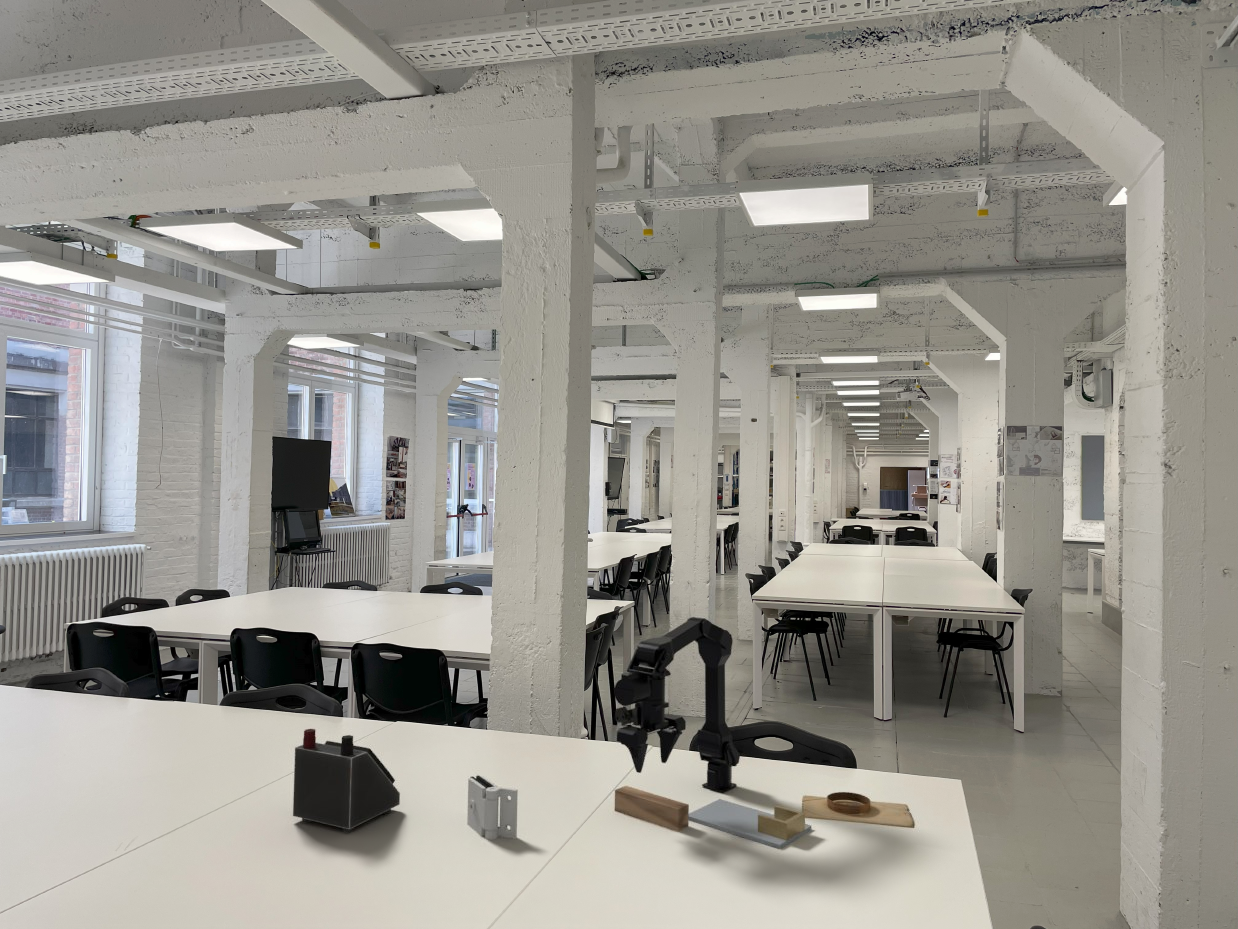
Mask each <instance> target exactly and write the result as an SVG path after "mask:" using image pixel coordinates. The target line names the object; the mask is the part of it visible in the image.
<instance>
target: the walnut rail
mask: <svg viewBox="0 0 1238 929" xmlns="http://www.w3.org/2000/svg"><path fill="white" fill-rule="evenodd" d="M689 806H690V804H689V803H685V802H682V801H678V800H675V799H671V798H668V797H666V796H661V795H658V794H655V793H652V792H648V791H644V790H641V789H638V788H635V787H632V786H628V785H624V786H622V787H619V788H616V789H615V790H614V812H616V813H620V814H623V815H626V816H628V817H632V818H635V819H638V820H640V821H644V822H647V823H651V824H653V825H657V826H659V827H662V828H666V829H667V830H671V831H674V832H680V831H682V830H684V829H686V828H688V827H689V824H690V823H689V821H690V820H689V813H690V811H689V810H690V808H689Z"/></svg>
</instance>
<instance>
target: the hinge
mask: <svg viewBox="0 0 1238 929" xmlns="http://www.w3.org/2000/svg"><path fill="white" fill-rule="evenodd" d="M467 781H468V782H467V788H468V789H467V820H466V821H467V826H468V827H469V828H471V829H472V830H473V831H475V833H477V834H478V835H479V836H481V837H483V836H484V838H485V839H486V840H496V839H498V837H501V838H506V839H507V838H508V839H512V840H513V839H514V840H515V839H517V836H518V835H517V834H518V832H517V831H518V793H519V792H518V791H519V790H518V789H515V788H509V787H508V788H507V787H503V786H498V785H497V784H495V783H494V782H492V781H491V780H490V779H488V778H486V777H485V776H484V775H478V774H477V775H476V776H475V777H474V776H470V777H468V780H467ZM509 797H510V799H509ZM508 827H510V829H509V828H508Z"/></svg>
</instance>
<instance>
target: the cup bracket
mask: <svg viewBox="0 0 1238 929" xmlns="http://www.w3.org/2000/svg"><path fill="white" fill-rule="evenodd" d="M773 811H774V812H773V815H774V818H773V817H769V816H766V815H762V814H759V815H758V832H760V833H764V834H767V835H770V836H773V837H777V838H780V839H783V840H786V841H787V840H789V839H790V838H792V837H794V836H795V835H797V834H799V833H800V832H802V831H803V830H805V824H806V818H805V813H803V812H802V811H799V810H795V809H793V808H789V807H784V806H781V805H774V807H773Z"/></svg>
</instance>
